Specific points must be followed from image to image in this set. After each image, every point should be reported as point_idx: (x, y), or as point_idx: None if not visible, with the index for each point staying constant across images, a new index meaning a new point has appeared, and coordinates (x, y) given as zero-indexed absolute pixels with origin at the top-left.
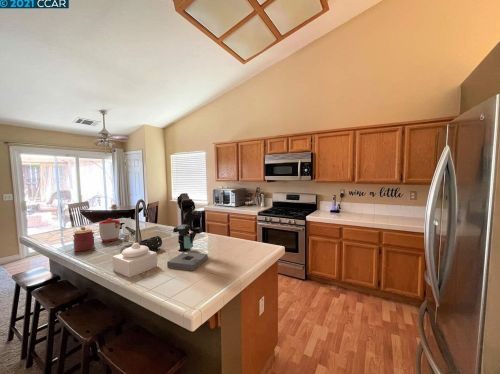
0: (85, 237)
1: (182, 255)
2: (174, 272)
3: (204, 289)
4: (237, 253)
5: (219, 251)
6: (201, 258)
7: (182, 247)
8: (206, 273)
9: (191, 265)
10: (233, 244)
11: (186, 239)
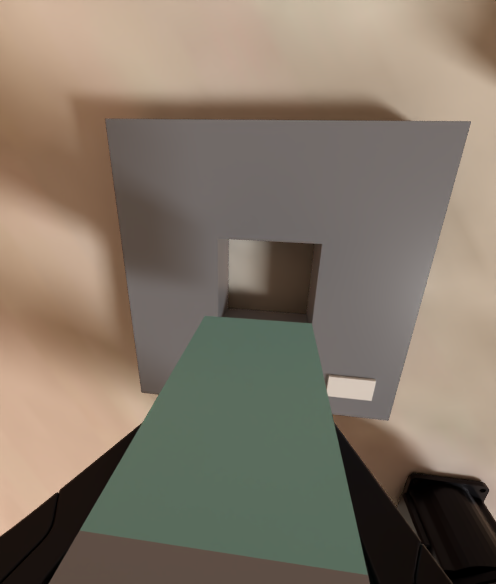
0: None
1: (361, 336)
2: (291, 34)
3: None
4: (43, 467)
5: None
6: (134, 300)
7: (461, 513)
8: (5, 114)
9: (127, 120)
10: None
11: (237, 465)
